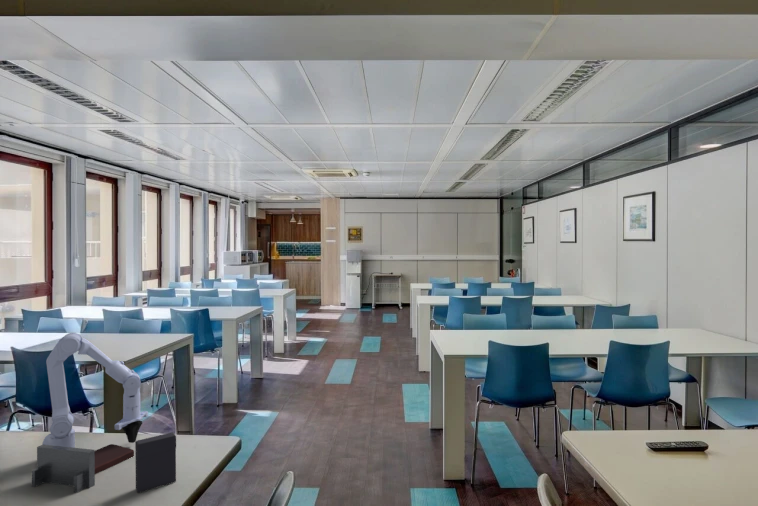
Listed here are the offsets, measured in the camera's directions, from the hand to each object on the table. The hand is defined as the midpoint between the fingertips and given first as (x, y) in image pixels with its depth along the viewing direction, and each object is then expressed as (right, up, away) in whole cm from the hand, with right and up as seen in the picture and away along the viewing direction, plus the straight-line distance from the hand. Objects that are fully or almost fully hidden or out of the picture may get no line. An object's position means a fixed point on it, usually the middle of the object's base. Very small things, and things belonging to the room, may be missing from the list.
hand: (132, 441), depth 171 cm
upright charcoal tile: (+24, -2, -29) cm, 38 cm away
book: (-4, -2, -15) cm, 16 cm away
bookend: (-6, -2, -29) cm, 30 cm away
